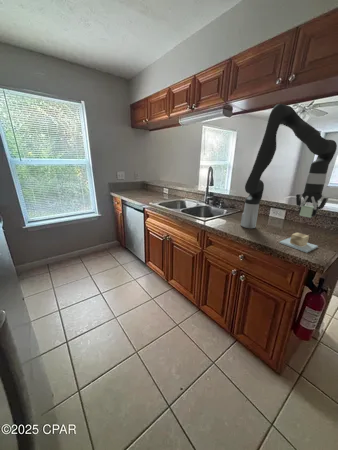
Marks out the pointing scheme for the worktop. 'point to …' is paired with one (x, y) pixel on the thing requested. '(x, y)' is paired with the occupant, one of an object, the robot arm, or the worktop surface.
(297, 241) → the maple block
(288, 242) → the board
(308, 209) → the sage block
